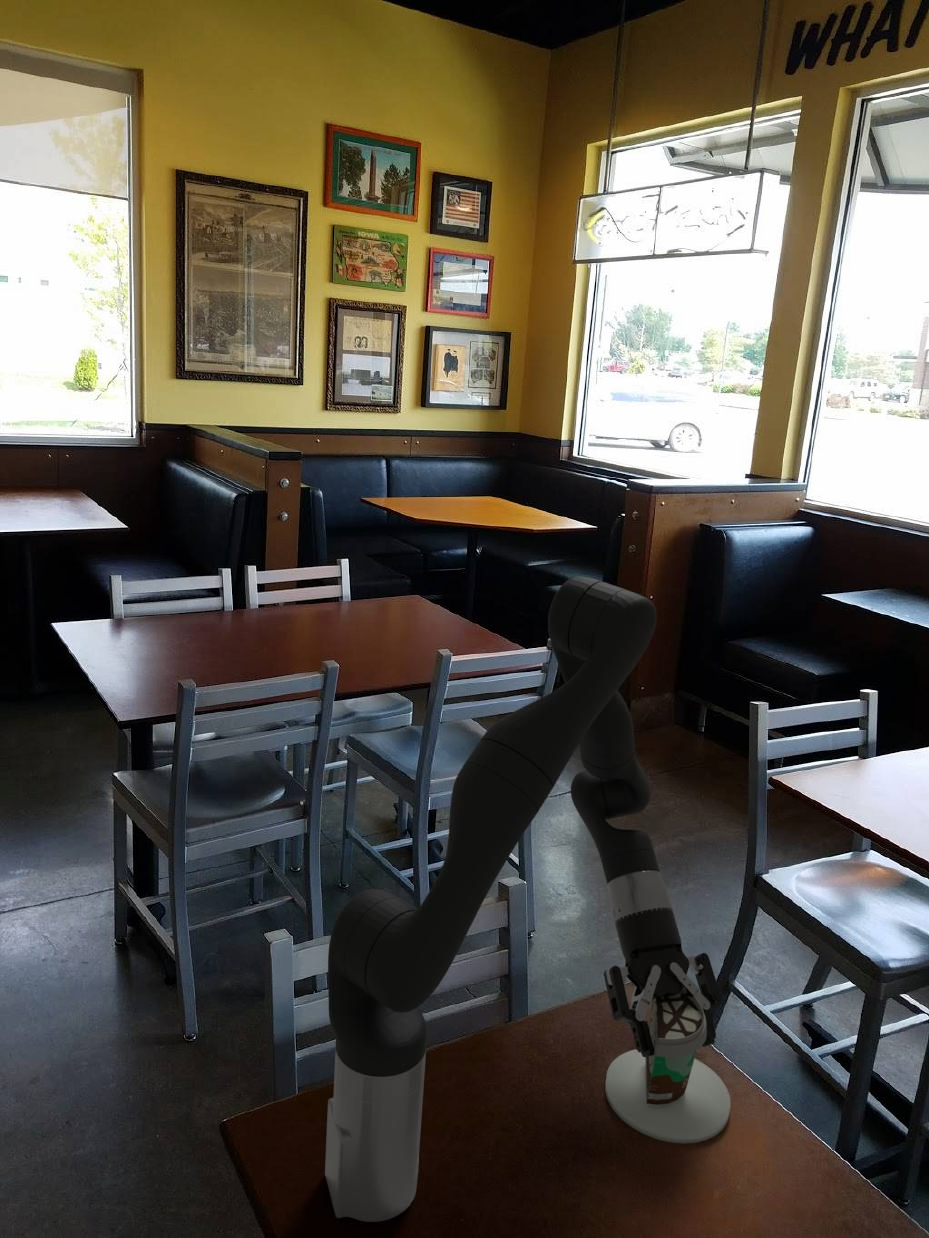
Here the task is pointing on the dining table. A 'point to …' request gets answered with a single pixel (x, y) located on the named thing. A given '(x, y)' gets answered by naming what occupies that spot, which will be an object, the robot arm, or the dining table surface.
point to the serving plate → (674, 1122)
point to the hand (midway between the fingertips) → (679, 1050)
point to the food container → (673, 1046)
